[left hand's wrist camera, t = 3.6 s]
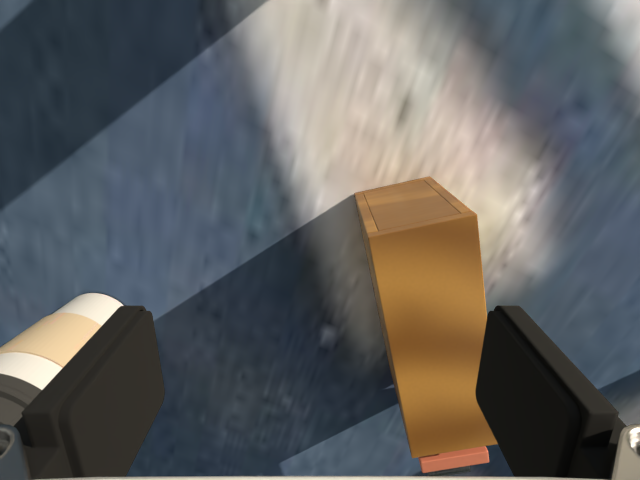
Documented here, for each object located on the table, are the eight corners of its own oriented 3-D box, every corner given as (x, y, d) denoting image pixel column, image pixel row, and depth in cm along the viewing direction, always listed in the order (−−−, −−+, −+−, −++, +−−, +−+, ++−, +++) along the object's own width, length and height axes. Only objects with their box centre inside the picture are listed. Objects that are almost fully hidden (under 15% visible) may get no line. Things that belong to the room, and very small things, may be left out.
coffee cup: (76, 371, 41) (-53, 522, 27) (34, 293, 37) (-138, 416, 23) (161, 354, 40) (75, 500, 26) (126, 273, 37) (5, 388, 23)
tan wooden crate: (454, 353, 40) (499, 444, 30) (389, 365, 40) (412, 458, 30) (430, 176, 34) (477, 214, 24) (353, 193, 34) (367, 237, 24)
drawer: (459, 426, 42) (495, 512, 34) (409, 434, 42) (431, 521, 34) (431, 223, 34) (468, 268, 26) (370, 236, 35) (386, 285, 26)
